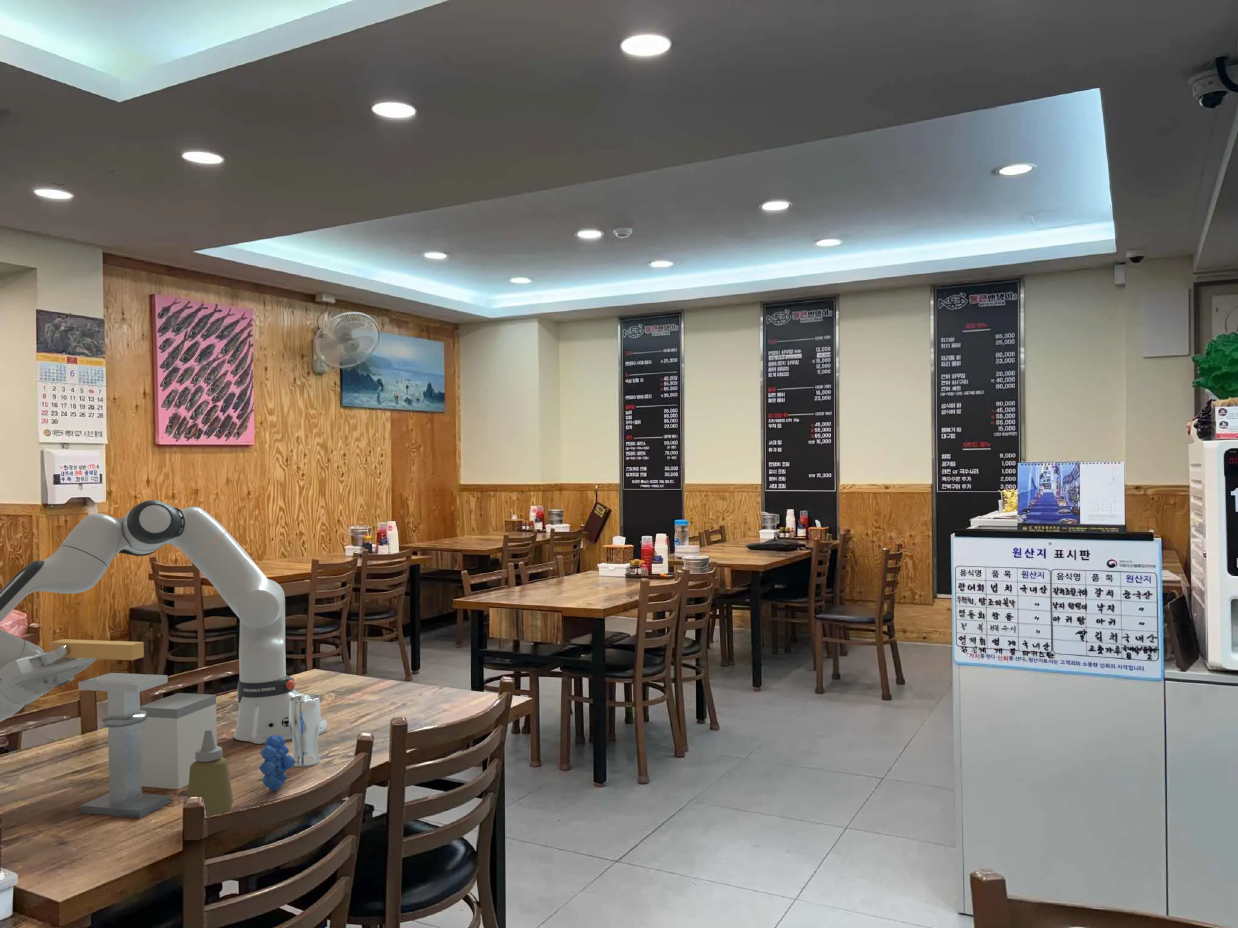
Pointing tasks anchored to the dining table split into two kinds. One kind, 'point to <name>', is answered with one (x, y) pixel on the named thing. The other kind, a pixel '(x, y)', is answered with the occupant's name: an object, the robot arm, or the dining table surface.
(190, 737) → the white lidded box
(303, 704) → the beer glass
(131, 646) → the bracket bar
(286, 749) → the grapes
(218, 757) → the squeeze bottle
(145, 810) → the post
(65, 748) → the dining table surface
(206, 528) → the robot arm
